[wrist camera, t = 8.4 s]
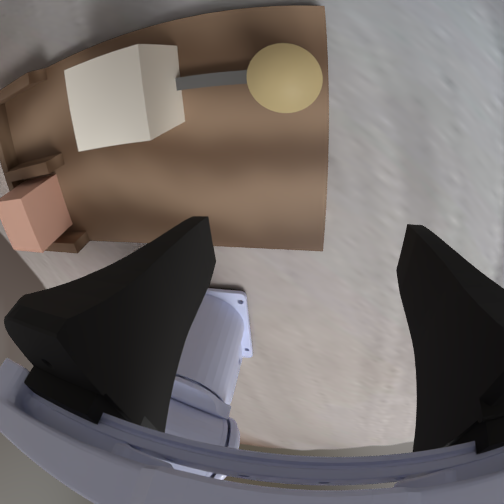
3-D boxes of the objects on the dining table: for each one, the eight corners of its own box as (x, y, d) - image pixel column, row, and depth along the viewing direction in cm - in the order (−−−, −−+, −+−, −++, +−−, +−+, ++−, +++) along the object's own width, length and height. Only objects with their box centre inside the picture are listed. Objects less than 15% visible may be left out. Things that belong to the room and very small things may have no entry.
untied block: (72, 224, 23) (42, 252, 20) (41, 224, 24) (14, 249, 21) (56, 174, 20) (20, 198, 17) (26, 180, 21) (-6, 202, 18)
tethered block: (318, 118, 15) (322, 137, 11) (119, 130, 18) (73, 154, 14) (317, 34, 12) (320, 21, 8) (109, 63, 15) (58, 71, 11)
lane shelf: (322, 243, 21) (323, 269, 19) (45, 233, 26) (28, 249, 24) (323, 9, 12) (326, -2, 10) (6, 94, 17) (-17, 102, 15)
